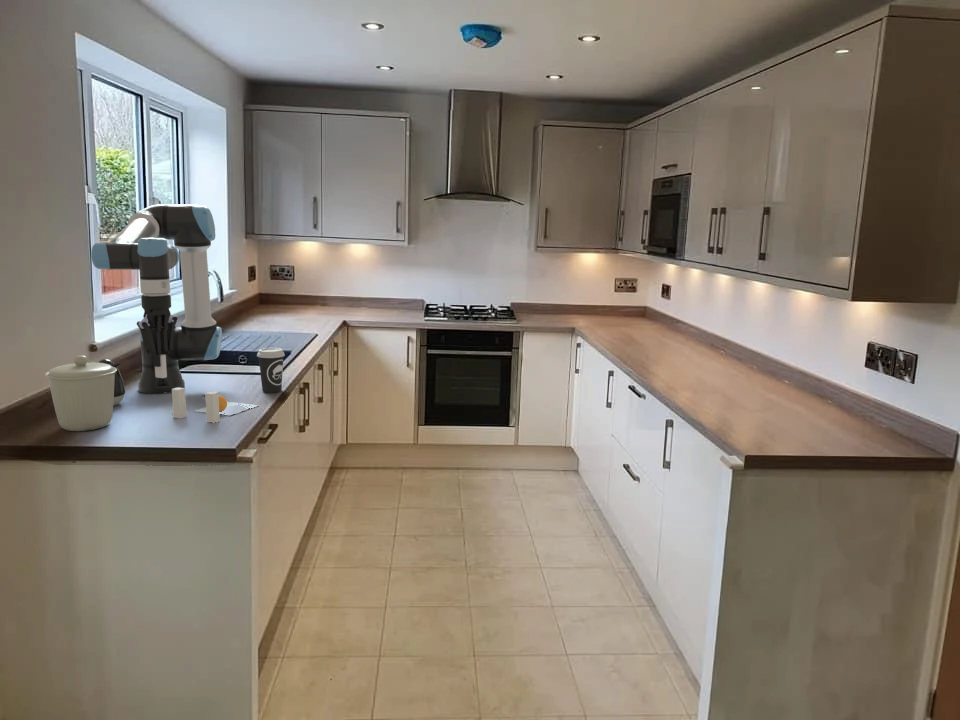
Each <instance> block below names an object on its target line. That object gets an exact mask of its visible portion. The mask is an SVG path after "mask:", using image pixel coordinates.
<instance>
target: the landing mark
mask: <svg viewBox="0 0 960 720" xmlns="http://www.w3.org/2000/svg"><path fill="white" fill-rule="evenodd" d="M226 401H227V407H229V406H234V405H238V403H239V404H241V405H240V406H242V405H244V406H243V407H245V406H247V407H248V408H250V410H252V409H255V408H258V407H260V405H259V404H250V403H242V402H235V401H228V400H226ZM249 405H250V406H249ZM251 406H252V407H251ZM257 406H258V407H257ZM247 407H245V408H246V409H248V408H247ZM254 407H255V408H254ZM251 408H252V409H251ZM227 410H228V409H227ZM194 412H196V413H202V412H205V413H204V414H206V406H205V407H201V408H198V409H196V410H194ZM224 414H225V413H224ZM224 414H223V415H222V416H224Z"/></svg>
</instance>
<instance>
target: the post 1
mask: <svg viewBox="0 0 960 720" xmlns="http://www.w3.org/2000/svg"><path fill="white" fill-rule="evenodd" d="M171 401H172V416H173V418H174V419H183V418H186V417H187V404H186V403H187V402H186V387H185V388H179V387H177V388H174V389H172V392H171Z"/></svg>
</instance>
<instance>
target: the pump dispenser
mask: <svg viewBox="0 0 960 720" xmlns="http://www.w3.org/2000/svg"><path fill="white" fill-rule="evenodd" d="M96 363H105V364H109V365H111V366H112V367H115V368H116V369H117V372H116V373H115V380H114V401H113V407H115V406H117V405H119V404H121V403H122V401H123V399H124V397H125V394H126V389H125V385H124V379H123V378H122V375H121V373H120V370H119V368H118V367H119V366H121V363H120V362H114V361H112V360H111V359H109V358H102V359H100V360H98V361H97V362H96Z"/></svg>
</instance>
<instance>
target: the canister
mask: <svg viewBox="0 0 960 720" xmlns="http://www.w3.org/2000/svg"><path fill="white" fill-rule="evenodd" d="M116 372H117V369H116V368H115V367H112V366H111V365H109V364H105V363H97V362H95V361H94V362H93V361H92V362H88V357H87V356H86V355H82V354H81V355H80V354H79V355H76V356H75V357H74V358H73V363H67V364H63V365H58V366H55V367H53V368H51V369H50V370H48V371H47V372H45V373H44V376H45V378H47V381H48V384H49V389H50V393H51V399H52V402H53V407H54V411H55V415H56V418H57V421H58V424H59V426H60V427H61V428H62V429H63V430H66V431H70V432H86V431H87V432H88V431H94V430H99V429H101V428H104V427H106V426H108V425H109V424H110V423H111V421H112V419H113V411H114V406H113V401H114V380H115V373H116Z"/></svg>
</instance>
